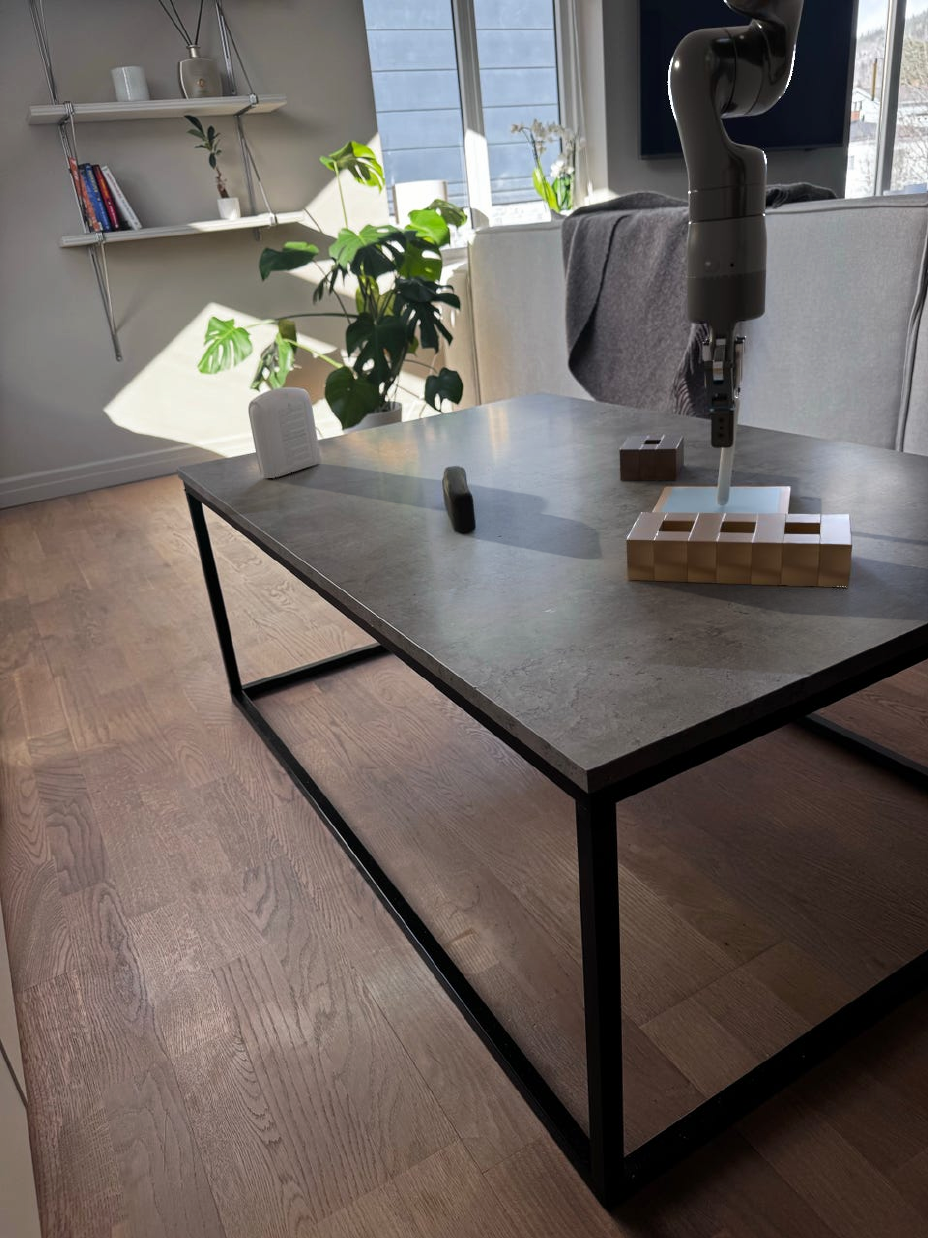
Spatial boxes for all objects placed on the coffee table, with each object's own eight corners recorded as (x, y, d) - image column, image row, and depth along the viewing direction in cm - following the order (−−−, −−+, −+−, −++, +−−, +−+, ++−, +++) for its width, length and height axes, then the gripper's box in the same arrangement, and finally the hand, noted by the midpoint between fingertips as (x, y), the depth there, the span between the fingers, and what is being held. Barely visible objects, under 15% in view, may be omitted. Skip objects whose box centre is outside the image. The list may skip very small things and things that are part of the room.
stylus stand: (683, 464, 116) (683, 434, 114) (676, 480, 110) (676, 448, 108) (630, 465, 118) (629, 435, 116) (620, 480, 112) (619, 449, 111)
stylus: (728, 503, 96) (741, 395, 91) (727, 507, 95) (739, 398, 90) (716, 502, 97) (728, 394, 92) (714, 506, 96) (726, 397, 90)
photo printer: (308, 460, 140) (294, 381, 135) (326, 463, 137) (312, 382, 132) (256, 478, 133) (239, 395, 128) (274, 481, 130) (257, 396, 125)
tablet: (790, 493, 100) (790, 485, 100) (784, 549, 85) (785, 539, 85) (665, 493, 105) (665, 485, 105) (638, 546, 90) (638, 536, 90)
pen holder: (846, 555, 82) (849, 514, 81) (848, 588, 76) (852, 544, 74) (642, 549, 89) (641, 511, 87) (627, 580, 82) (626, 539, 81)
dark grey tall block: (476, 491, 97) (460, 456, 111) (449, 495, 97) (436, 460, 110) (480, 534, 99) (464, 494, 113) (453, 537, 99) (440, 498, 113)
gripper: (761, 271, 79) (755, 461, 86) (770, 259, 90) (764, 428, 98) (676, 278, 82) (677, 462, 89) (695, 266, 93) (695, 430, 100)
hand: (723, 443), depth 93 cm, fingers closed on stylus, 1 cm apart
